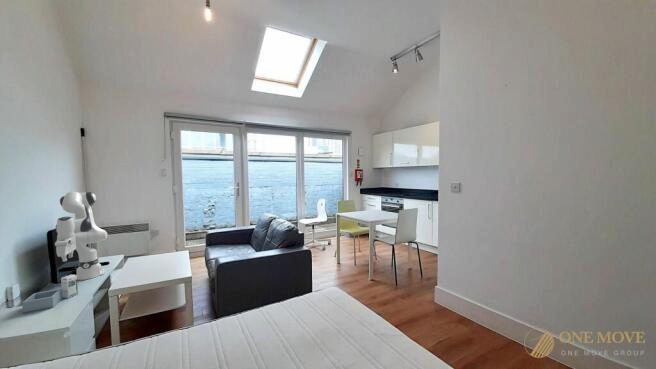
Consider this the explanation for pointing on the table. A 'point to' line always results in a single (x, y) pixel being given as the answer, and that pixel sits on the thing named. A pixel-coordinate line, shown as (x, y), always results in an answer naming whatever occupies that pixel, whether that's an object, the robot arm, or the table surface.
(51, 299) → the crate
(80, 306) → the table surface
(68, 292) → the syrup box
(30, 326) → the table surface
